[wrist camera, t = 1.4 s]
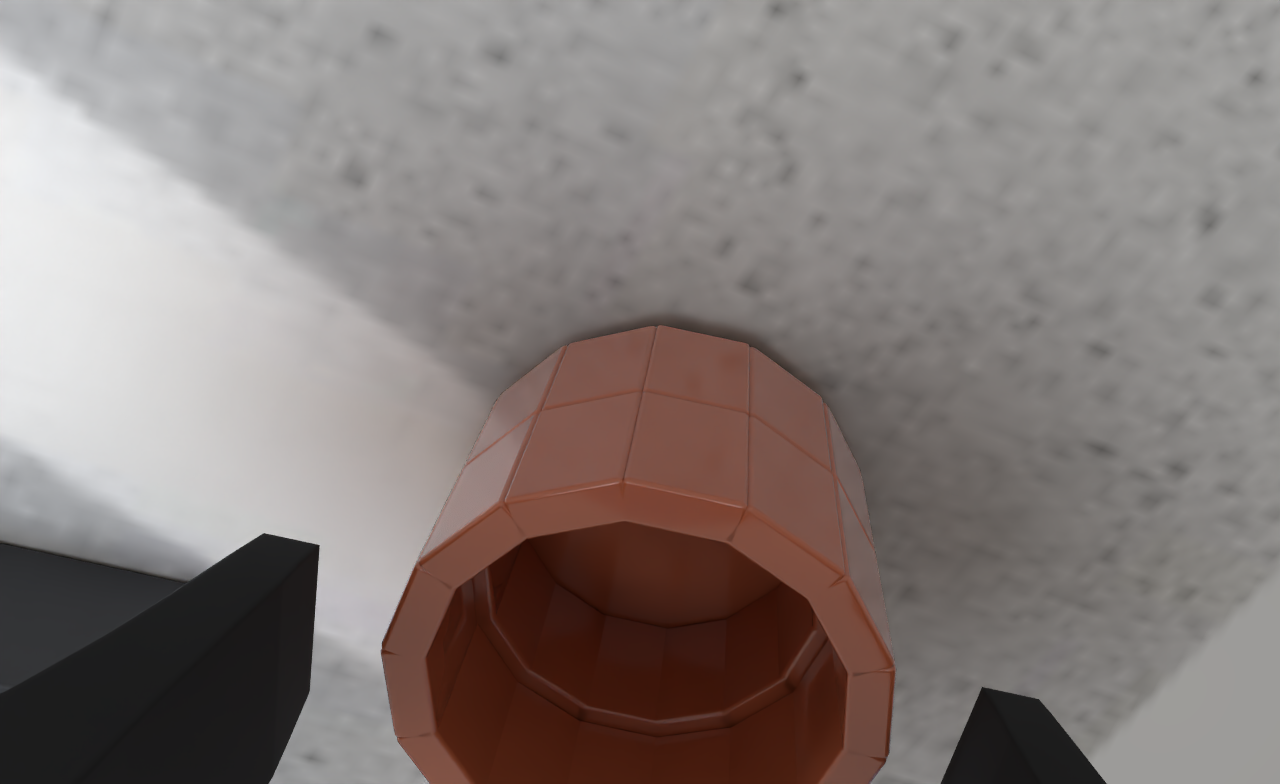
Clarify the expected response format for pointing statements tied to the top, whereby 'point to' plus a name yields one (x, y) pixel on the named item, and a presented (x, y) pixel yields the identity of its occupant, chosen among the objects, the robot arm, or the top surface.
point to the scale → (62, 607)
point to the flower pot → (648, 582)
